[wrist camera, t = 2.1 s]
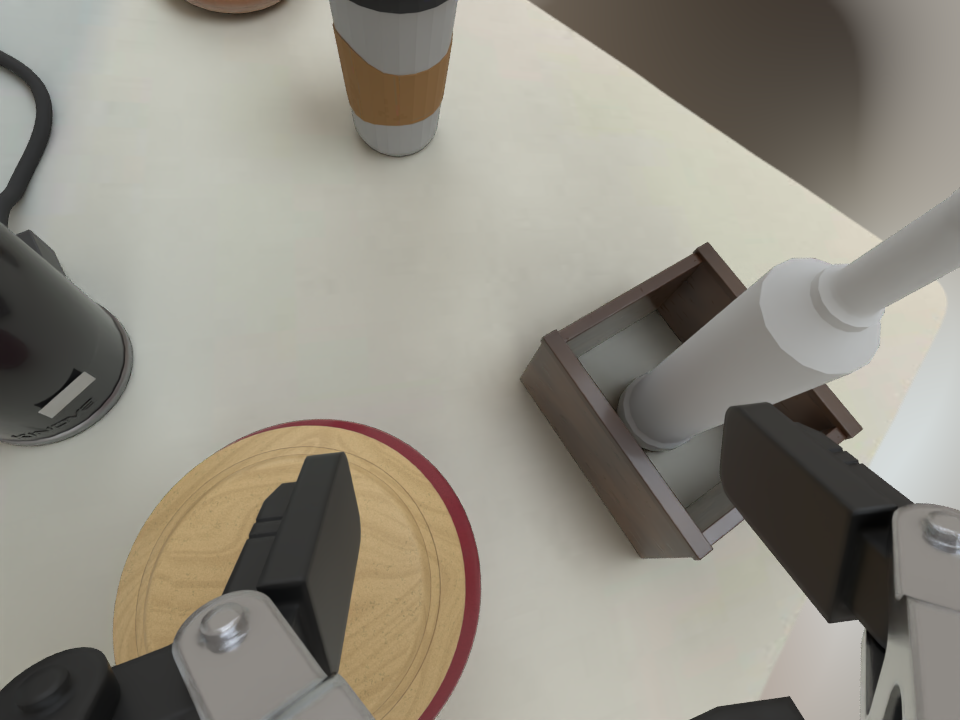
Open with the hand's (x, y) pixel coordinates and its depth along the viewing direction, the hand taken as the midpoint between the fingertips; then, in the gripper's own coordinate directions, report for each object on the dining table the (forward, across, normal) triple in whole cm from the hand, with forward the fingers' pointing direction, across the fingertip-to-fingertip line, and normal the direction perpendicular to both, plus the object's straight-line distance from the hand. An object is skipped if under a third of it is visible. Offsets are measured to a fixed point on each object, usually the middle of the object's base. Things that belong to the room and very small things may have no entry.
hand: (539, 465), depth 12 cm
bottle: (+22, -11, +13) cm, 28 cm away
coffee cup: (+38, +4, -7) cm, 39 cm away
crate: (+22, -11, +12) cm, 28 cm away
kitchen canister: (+15, +9, +17) cm, 24 cm away
